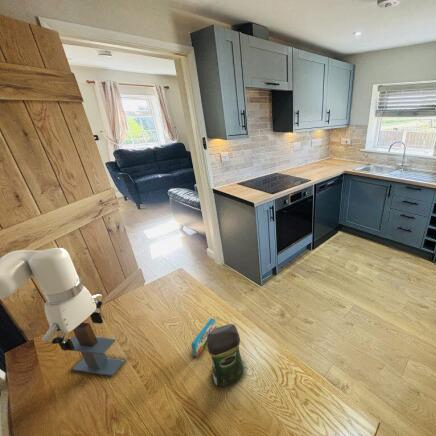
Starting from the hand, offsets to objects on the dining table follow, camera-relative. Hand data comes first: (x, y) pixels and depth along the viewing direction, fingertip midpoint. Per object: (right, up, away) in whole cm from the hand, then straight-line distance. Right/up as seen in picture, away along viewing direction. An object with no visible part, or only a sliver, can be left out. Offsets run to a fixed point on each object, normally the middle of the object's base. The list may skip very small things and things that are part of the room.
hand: (84, 335), depth 72 cm
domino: (0, -3, +2) cm, 4 cm away
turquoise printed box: (+32, -10, +15) cm, 37 cm away
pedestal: (0, -13, +6) cm, 15 cm away
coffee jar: (+43, -15, +5) cm, 46 cm away
